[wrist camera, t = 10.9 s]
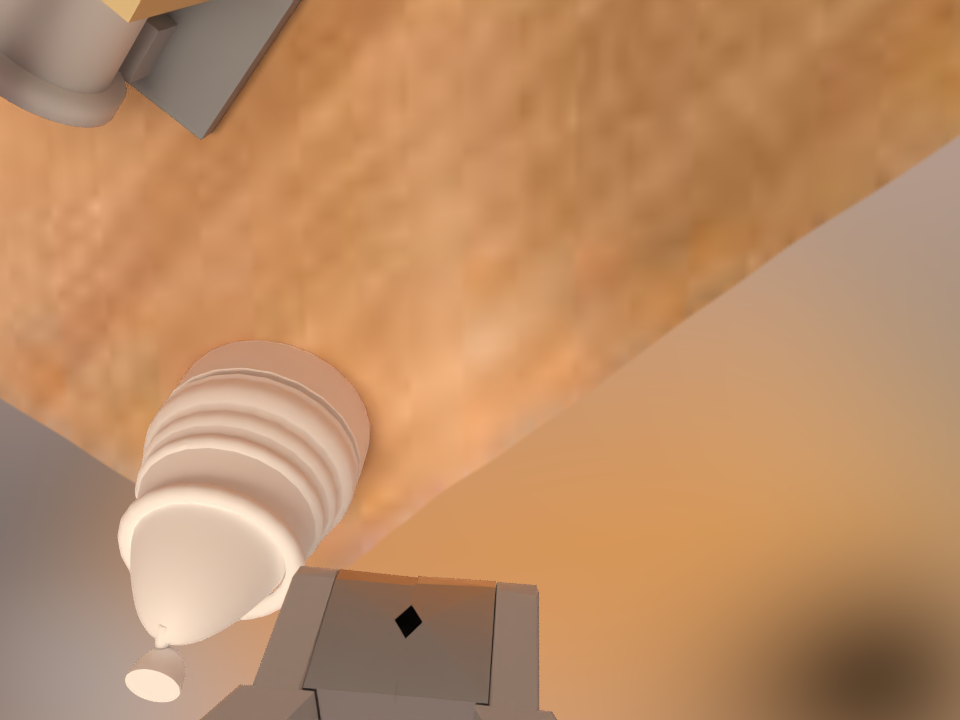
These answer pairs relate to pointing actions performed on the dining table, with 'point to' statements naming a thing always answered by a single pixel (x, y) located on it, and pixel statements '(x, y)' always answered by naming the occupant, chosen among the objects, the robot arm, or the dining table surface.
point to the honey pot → (235, 495)
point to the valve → (133, 55)
